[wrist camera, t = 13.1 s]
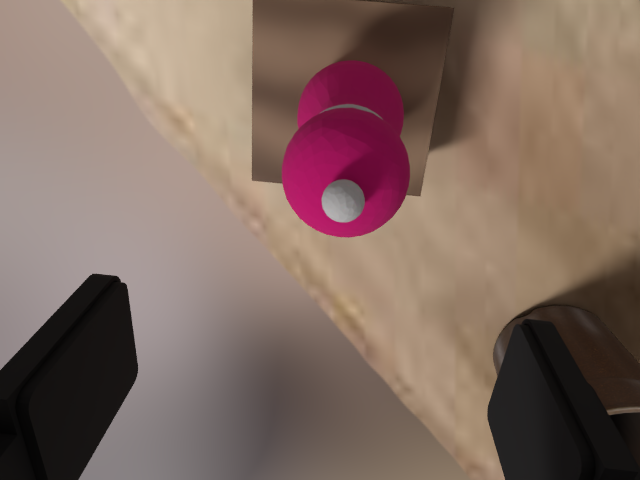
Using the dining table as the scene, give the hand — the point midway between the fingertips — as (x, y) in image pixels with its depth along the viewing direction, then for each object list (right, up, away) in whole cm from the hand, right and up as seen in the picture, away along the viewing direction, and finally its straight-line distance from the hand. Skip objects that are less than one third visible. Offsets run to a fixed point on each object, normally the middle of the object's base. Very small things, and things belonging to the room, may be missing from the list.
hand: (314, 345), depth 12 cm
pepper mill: (+3, +13, +25) cm, 28 cm away
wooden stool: (+2, +16, +30) cm, 34 cm away
